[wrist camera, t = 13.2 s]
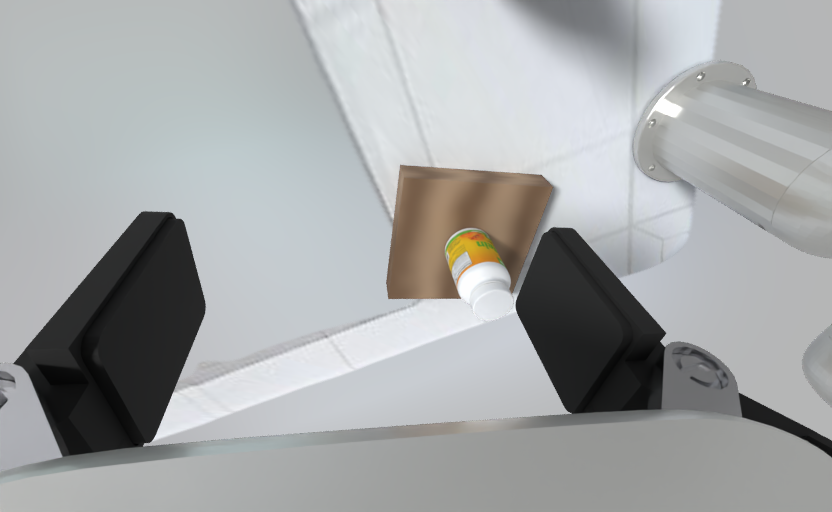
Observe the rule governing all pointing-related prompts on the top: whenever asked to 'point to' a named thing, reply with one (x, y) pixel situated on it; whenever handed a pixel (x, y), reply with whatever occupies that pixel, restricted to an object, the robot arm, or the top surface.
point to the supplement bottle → (479, 274)
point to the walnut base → (459, 224)
